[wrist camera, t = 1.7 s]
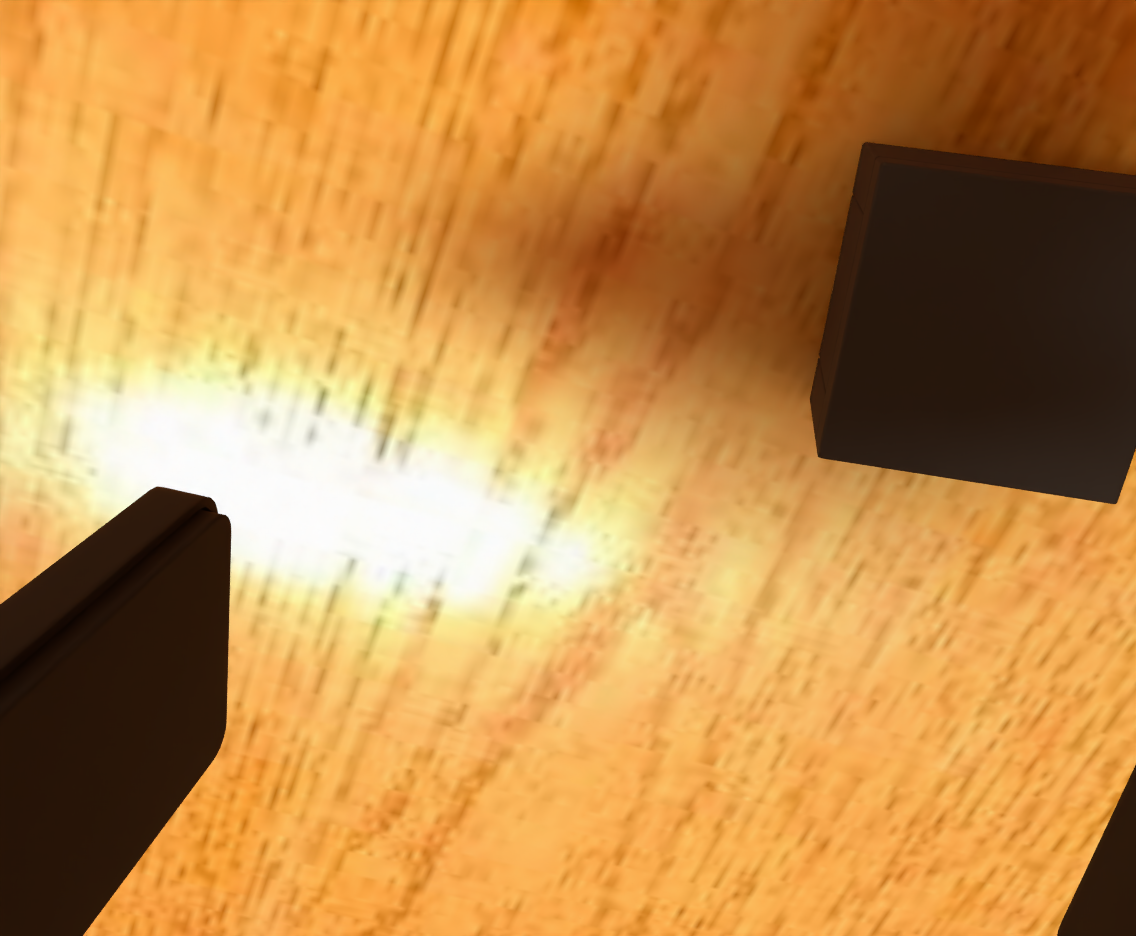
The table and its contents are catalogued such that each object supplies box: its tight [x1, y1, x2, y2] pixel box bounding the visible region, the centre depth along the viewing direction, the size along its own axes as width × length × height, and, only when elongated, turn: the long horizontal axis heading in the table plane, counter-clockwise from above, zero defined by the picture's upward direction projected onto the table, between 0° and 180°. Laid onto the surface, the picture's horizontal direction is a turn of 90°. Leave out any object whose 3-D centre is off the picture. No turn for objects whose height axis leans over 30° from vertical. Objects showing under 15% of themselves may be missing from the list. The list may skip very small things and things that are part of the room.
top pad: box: [810, 142, 1136, 504], centre depth 24 cm, size 6×6×4 cm
